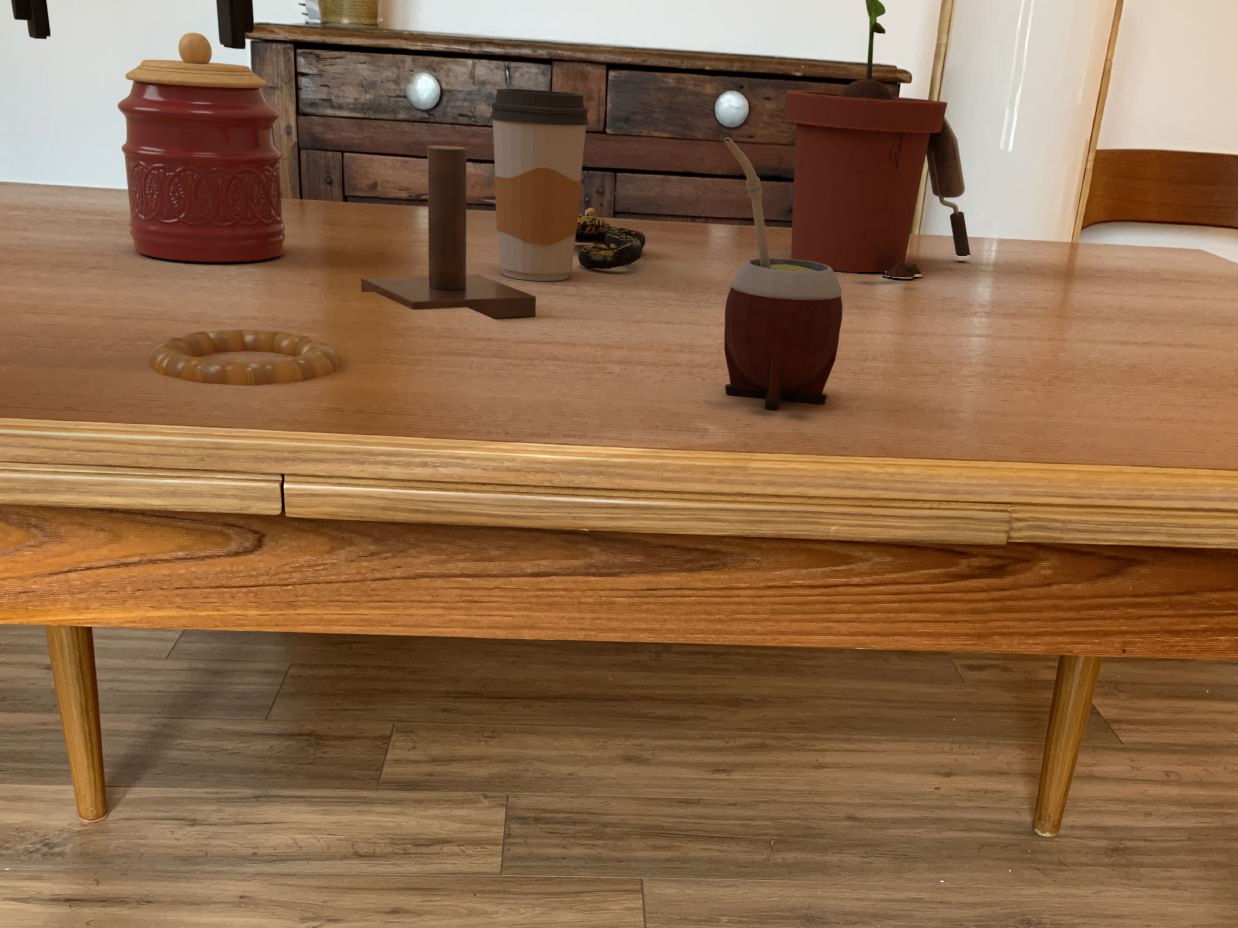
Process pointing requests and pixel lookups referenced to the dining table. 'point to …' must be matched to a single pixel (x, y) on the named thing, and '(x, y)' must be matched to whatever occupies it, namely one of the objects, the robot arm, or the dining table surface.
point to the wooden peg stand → (451, 253)
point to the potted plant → (868, 172)
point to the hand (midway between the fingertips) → (139, 43)
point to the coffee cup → (537, 180)
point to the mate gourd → (779, 319)
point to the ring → (184, 363)
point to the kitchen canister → (201, 160)
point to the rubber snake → (606, 243)
